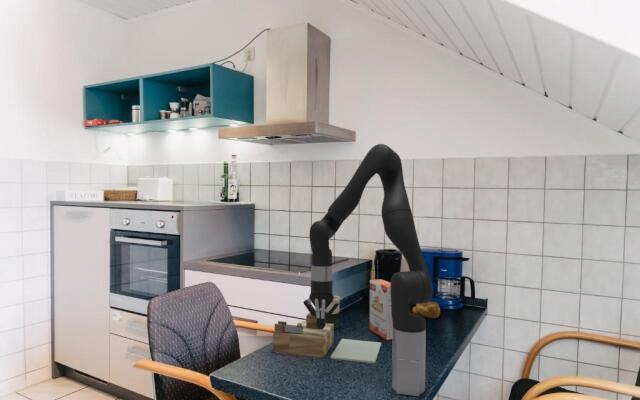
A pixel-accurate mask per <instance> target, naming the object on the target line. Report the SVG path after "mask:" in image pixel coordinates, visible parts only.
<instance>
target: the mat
mask: <svg viewBox="0 0 640 400" xmlns="http://www.w3.org/2000/svg"><path fill="white" fill-rule="evenodd" d="M381 347H382V342H377V341H370V340H367V341H366V340H357V339H350V338H349V339H346V338H341V340H340V341H339V343H338V345H337V346H336V347H335V349H334V351H332V354H331V356H330V359H331V360H332V359H333V360H341V361H349V362H358V363H359V362H360V363H367V364H368V363H369V364H376V362H377V359H378V356H379V352H380V349H381Z"/></svg>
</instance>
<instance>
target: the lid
mask: <svg viewBox="0 0 640 400" xmlns="http://www.w3.org/2000/svg"><path fill="white" fill-rule="evenodd" d="M305 319H306V320H305V321H302V322H301V323H302V326H303V333H302V334H300V333H290V334H289V337H292V338H302V339H312V340H324V339H325V337H326V336H327V335H328V334H329V332H330V331H331V330H332V328H333V327H334V324H327V323H326V325H325V327H324V328H323V329H318V327H317V318H316V317H315V316H312V315H311V314H310V312H309V313H307V314H306V316H305Z"/></svg>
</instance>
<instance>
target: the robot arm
mask: <svg viewBox="0 0 640 400" xmlns="http://www.w3.org/2000/svg"><path fill="white" fill-rule="evenodd" d="M376 174H377V175H378V176H379V178H380V181H381V186H382V189H383V201H382V205H381V218H382V223H383V224H382V225H383V229H384V232H385V235H386V236H387V238H388V239H389V240H390V242H391V243H392V244H393V245H394V246H395V248H396V249H397V250H398V251H399V252H400V253H401V254H402V256H403V257H404V259H405V261H406V263H407V266H408V269H409V270H407V271H397V272H395V273H393V275H392V276H391V280H390V283H391V286H390V289H391V314H392V320H393V340H392V348H391V349H392V355H391V357H392V359H391V361H392V362H391V363H392V365H391V367H392V369H391V375H392V376H391V380H392V381H391V387H392V389H393V390H394V391H395V392H396V394H397V395H398V394H399V395H406V396H415V397H420V395H422V394H423V393H425V391H426V345H427V344H426V343H427V342H426V338H427V335H426V333H427V332H426V330H427V327H426V326H427V321H426V318H425V317H422V316H419V315H416V314H414V313H413V312H411V310H410V305H416V304H422V303H428V302H431V301H432V298H433V293H434V292H433V291H434V290H433V284H432V279H431V275H430V273H429V269H428V267H427V264H426V261H425V258H424V255H423V253H422V249H421V246H420V242H419V239H418V235H417V234H418V233H417V229H416V225H415V220H414V216H413V215H414V214H413V212H412V209H411V205H410V201H409V196H408V193H407V191H406V186H405V181H404V173H403V165H402V159H401V157H400V156H399V154H398V153H397V152H396V151H394V150H393V149H392V148H391V146H388V145H387V144H385V143H378V144H375V145H373V147H371V148H370V149H369V151H367V153H366V154H365V156H364V158H363V159H362V161H361V162H360V164H359V166H358V167H357V169H356V171H355V172H354V173H353V176H351V179H350V180H349V182H348V183H347V185H346V186H345V187H344V189H343V190H342V192H340V194H339V195H338V196H337V197H336V198H335V200H334V201H333V202H332V203H331V204H330V205H329V207H328V208H327V212H326V214H325V215H324V216H323V217H322V218H321V219H320V220H317V221H315V222H313V223H312V224H311V226H310V228H309V233H308V234H309V243H310V249H311V271H310V293H309V296H308V298H307V299H305V300H304V301H303V302H302V303H303V305H304V306H305V307H306V309H307V311H308V312H309V313H310V314H311V315H312V316H315V317H316V318H317V327H318V329H323V328H324V327H325V325H326V317H329V316H330V315H331V314H332V313H333V312H334V311H335V309H336V308H337V307H338V306H339V304H340V303H339V302H336V301H335V300H334V296H335V295H334V294H333V290H334V289H333V286H334V285H333V279H334V274H333V273H334V272H333V251H332V249H331V248H330V239H331V238H332V237H333V236H335V234H336V233H337V231H339V229H340V228H341V226H342V225H343V223H344V222H345V220H347V219H348V218H349V216H350V215H351V214H352V213H353V212H354V210H355V209H356V208H357V207H358V205H359V203H360V201H361V199H362V196H363V193H364V191H365V188H366V186H367V184H368V183H369V181H370V180H372V178H374V176H375V175H376ZM331 302H332V308H331V310H330V311H329V312H328V313H326V312H327V307H328V306H329V305H330V304H331ZM314 307H315V308H314Z"/></svg>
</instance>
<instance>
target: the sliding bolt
mask: <svg viewBox="0 0 640 400" xmlns="http://www.w3.org/2000/svg"><path fill="white" fill-rule="evenodd" d="M283 332H290V333H300V334H302V333H303V326H302V322H301V323H300V322H298V323H297V324H296V325H294V324H287V325H285V324H283Z"/></svg>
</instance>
